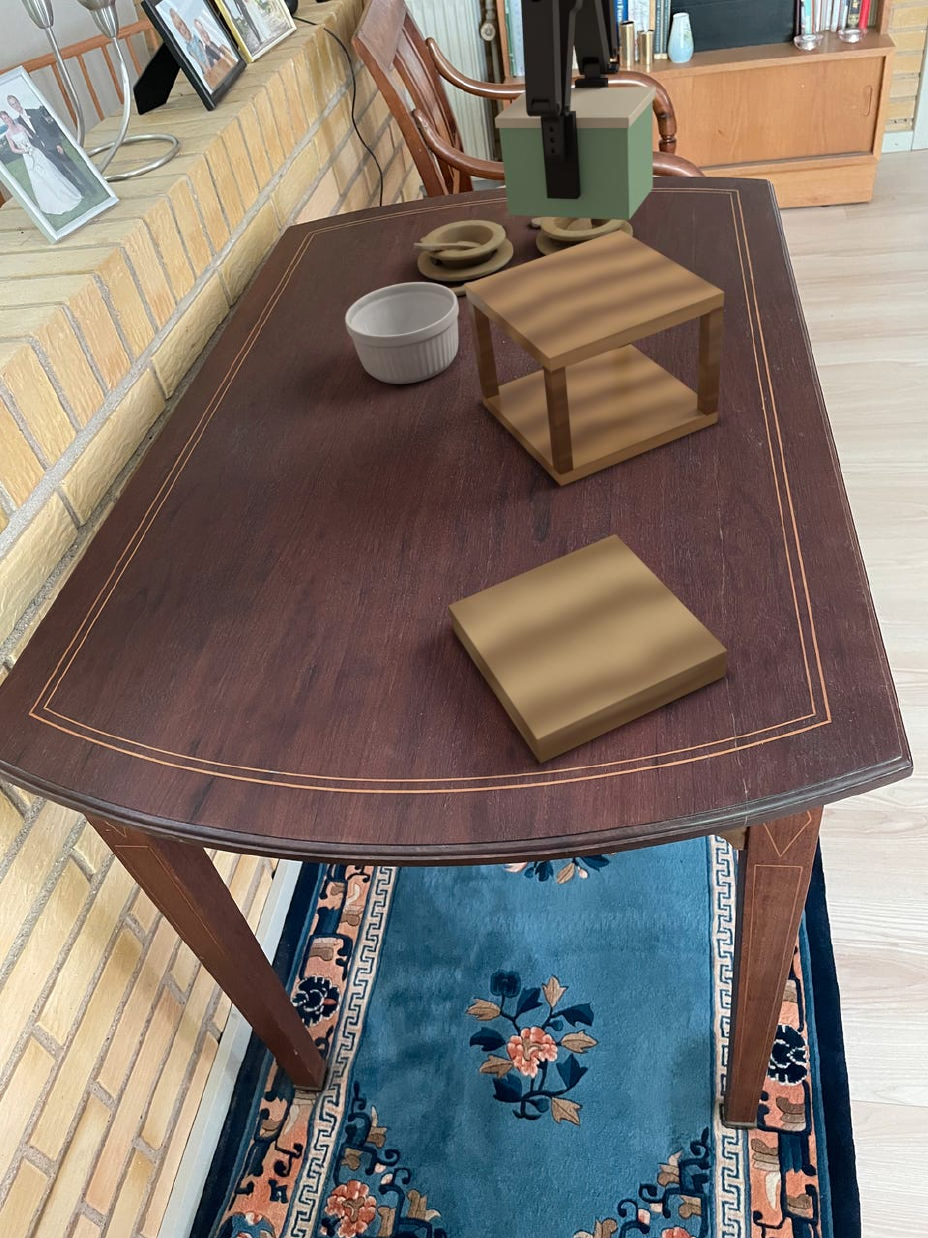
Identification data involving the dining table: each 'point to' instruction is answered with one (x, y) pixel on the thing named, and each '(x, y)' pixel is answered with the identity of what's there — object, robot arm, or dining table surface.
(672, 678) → the wooden square board
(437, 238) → the tableware set
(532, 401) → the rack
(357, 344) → the ramekin
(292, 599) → the dining table surface
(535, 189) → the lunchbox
